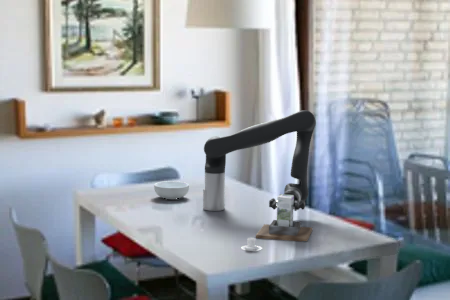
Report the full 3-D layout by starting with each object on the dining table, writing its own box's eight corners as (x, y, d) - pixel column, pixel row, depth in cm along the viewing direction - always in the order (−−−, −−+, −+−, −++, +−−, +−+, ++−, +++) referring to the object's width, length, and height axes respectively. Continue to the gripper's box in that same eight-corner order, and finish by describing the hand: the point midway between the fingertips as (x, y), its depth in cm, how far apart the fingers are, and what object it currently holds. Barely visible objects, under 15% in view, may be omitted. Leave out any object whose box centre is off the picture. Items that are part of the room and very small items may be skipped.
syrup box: (293, 229, 292) (294, 194, 290) (290, 233, 287) (291, 197, 284) (279, 228, 294) (280, 193, 292) (276, 232, 288) (277, 196, 286)
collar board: (255, 238, 284) (256, 227, 283) (264, 227, 301) (264, 217, 301) (306, 241, 279) (307, 231, 279) (312, 230, 297) (312, 220, 296)
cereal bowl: (150, 201, 348) (150, 186, 347) (159, 194, 364) (159, 180, 363) (184, 202, 345) (184, 188, 344) (192, 195, 362) (192, 181, 361)
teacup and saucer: (251, 254, 264) (251, 243, 263) (235, 249, 269) (235, 239, 268) (266, 249, 270) (266, 238, 269) (250, 245, 275) (250, 234, 275)
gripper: (274, 189, 303) (267, 197, 288) (308, 191, 300) (302, 199, 285) (273, 207, 305) (266, 215, 289) (307, 209, 301) (302, 218, 286)
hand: (284, 207), depth 287 cm, fingers open, 8 cm apart
